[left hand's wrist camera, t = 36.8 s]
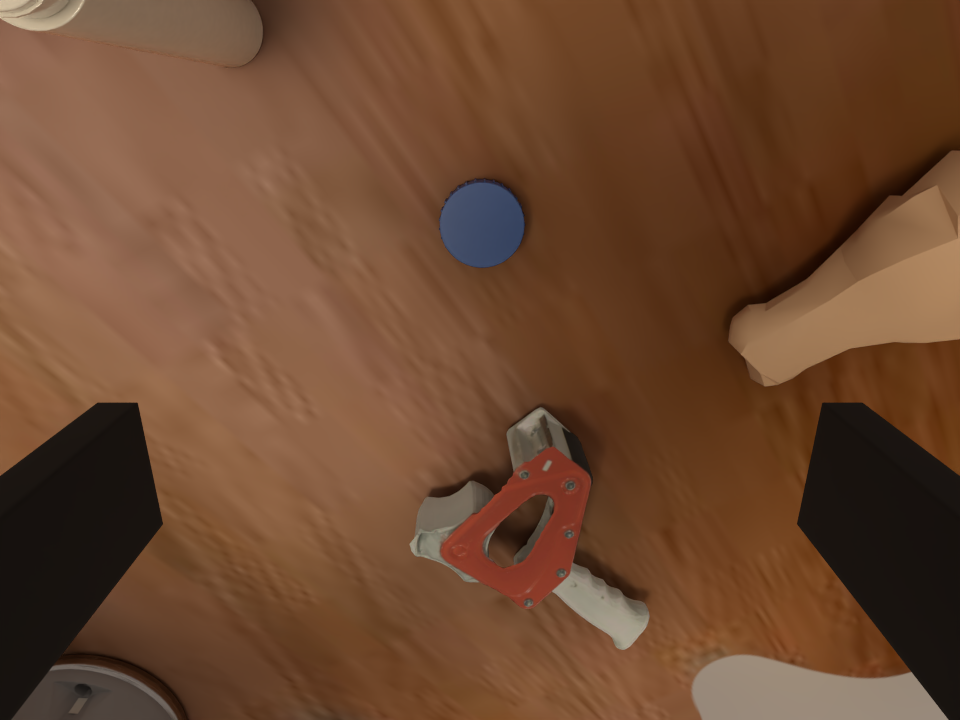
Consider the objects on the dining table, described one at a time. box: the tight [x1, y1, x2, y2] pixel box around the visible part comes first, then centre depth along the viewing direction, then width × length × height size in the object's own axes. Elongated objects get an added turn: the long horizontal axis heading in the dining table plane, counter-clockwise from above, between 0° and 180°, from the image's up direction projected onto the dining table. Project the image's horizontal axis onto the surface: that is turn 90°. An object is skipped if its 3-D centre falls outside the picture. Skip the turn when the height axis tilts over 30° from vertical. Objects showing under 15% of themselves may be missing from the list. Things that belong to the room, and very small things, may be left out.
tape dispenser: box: [410, 407, 649, 650], centre depth 46 cm, size 18×5×20 cm
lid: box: [439, 178, 525, 268], centre depth 40 cm, size 5×5×2 cm
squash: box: [728, 151, 960, 386], centre depth 38 cm, size 11×20×9 cm, turn 126°
